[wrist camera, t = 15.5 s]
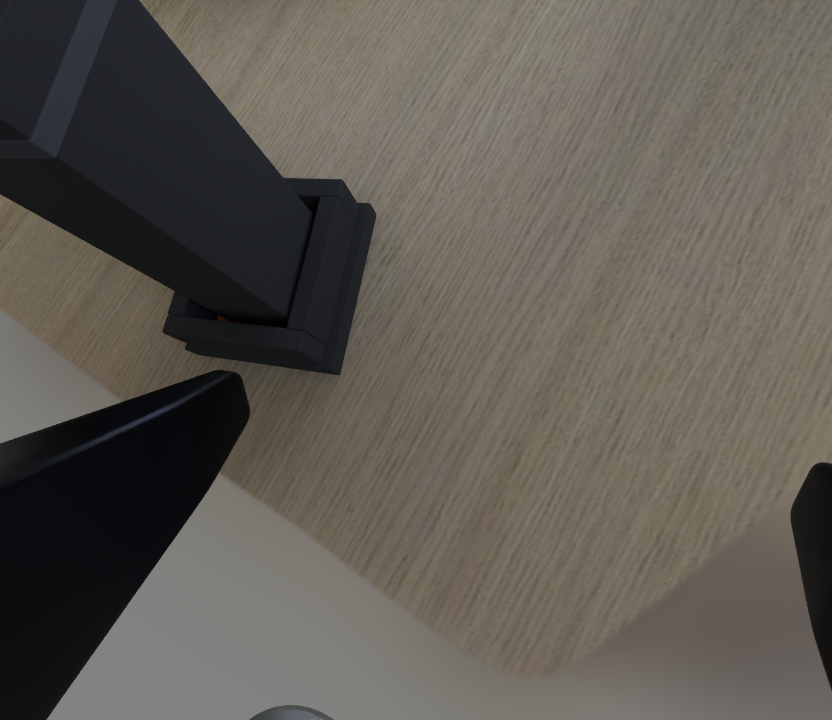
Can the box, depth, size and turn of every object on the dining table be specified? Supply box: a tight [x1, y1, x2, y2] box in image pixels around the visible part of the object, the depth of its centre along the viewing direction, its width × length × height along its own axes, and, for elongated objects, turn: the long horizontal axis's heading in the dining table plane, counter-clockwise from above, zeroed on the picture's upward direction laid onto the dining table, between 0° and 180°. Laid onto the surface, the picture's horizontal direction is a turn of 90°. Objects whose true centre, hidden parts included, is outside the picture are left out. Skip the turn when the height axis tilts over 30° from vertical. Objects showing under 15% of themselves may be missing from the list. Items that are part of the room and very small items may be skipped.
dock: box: [163, 178, 376, 375], centre depth 23 cm, size 8×8×3 cm
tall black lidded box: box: [0, 0, 315, 328], centre depth 17 cm, size 5×4×14 cm
